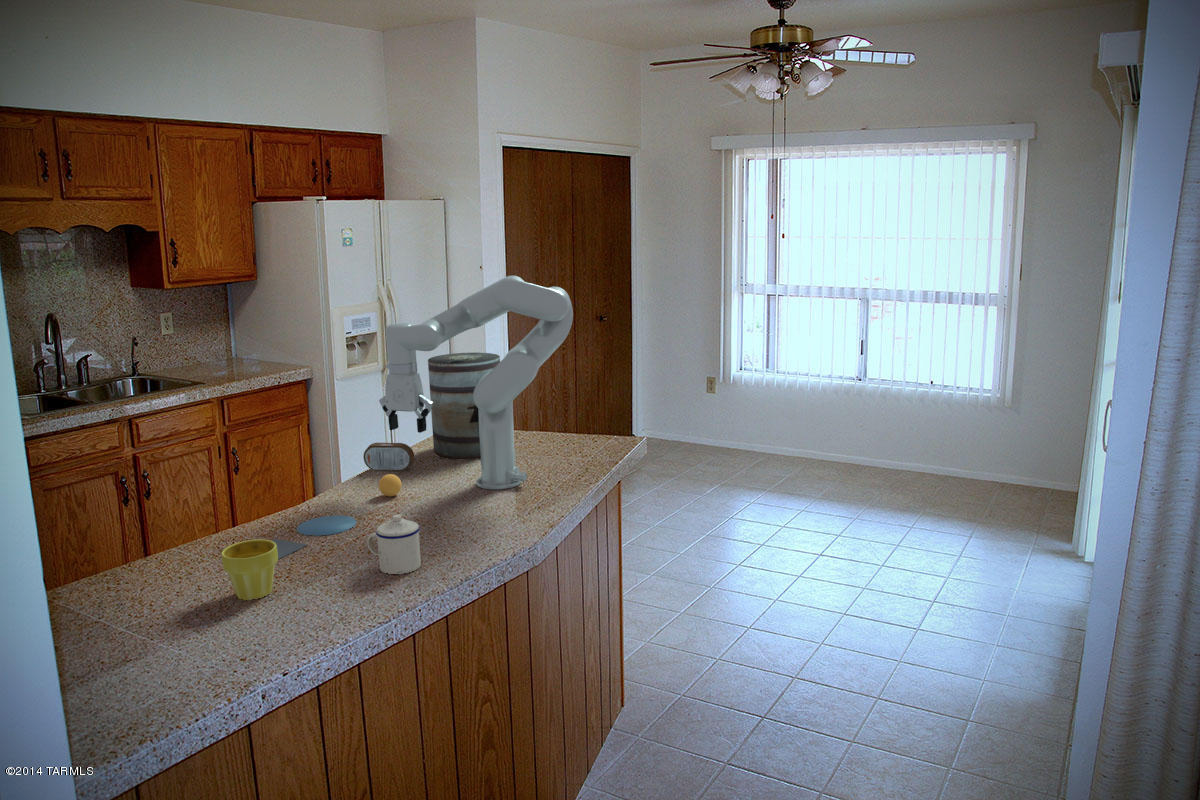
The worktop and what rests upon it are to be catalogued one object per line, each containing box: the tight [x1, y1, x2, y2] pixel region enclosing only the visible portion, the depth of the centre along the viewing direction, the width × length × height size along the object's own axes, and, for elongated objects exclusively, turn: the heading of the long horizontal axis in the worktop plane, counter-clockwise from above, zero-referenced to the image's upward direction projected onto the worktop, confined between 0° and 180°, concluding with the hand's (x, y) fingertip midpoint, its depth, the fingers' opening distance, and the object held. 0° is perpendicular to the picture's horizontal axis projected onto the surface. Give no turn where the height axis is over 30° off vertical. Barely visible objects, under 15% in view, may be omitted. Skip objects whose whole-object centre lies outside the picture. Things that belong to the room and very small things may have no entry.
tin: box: [363, 442, 415, 472], centre depth 262 cm, size 15×3×8 cm, turn 84°
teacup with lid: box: [366, 514, 422, 575], centre depth 189 cm, size 12×9×12 cm
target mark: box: [296, 515, 357, 537], centre depth 217 cm, size 14×14×1 cm
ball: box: [378, 473, 402, 497], centre depth 238 cm, size 6×6×6 cm
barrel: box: [427, 352, 501, 460], centre depth 281 cm, size 22×22×30 cm
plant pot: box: [221, 538, 279, 601], centre depth 177 cm, size 10×10×10 cm
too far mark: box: [271, 538, 309, 560], centre depth 202 cm, size 10×10×1 cm
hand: (407, 430), depth 244 cm, fingers open, 9 cm apart
